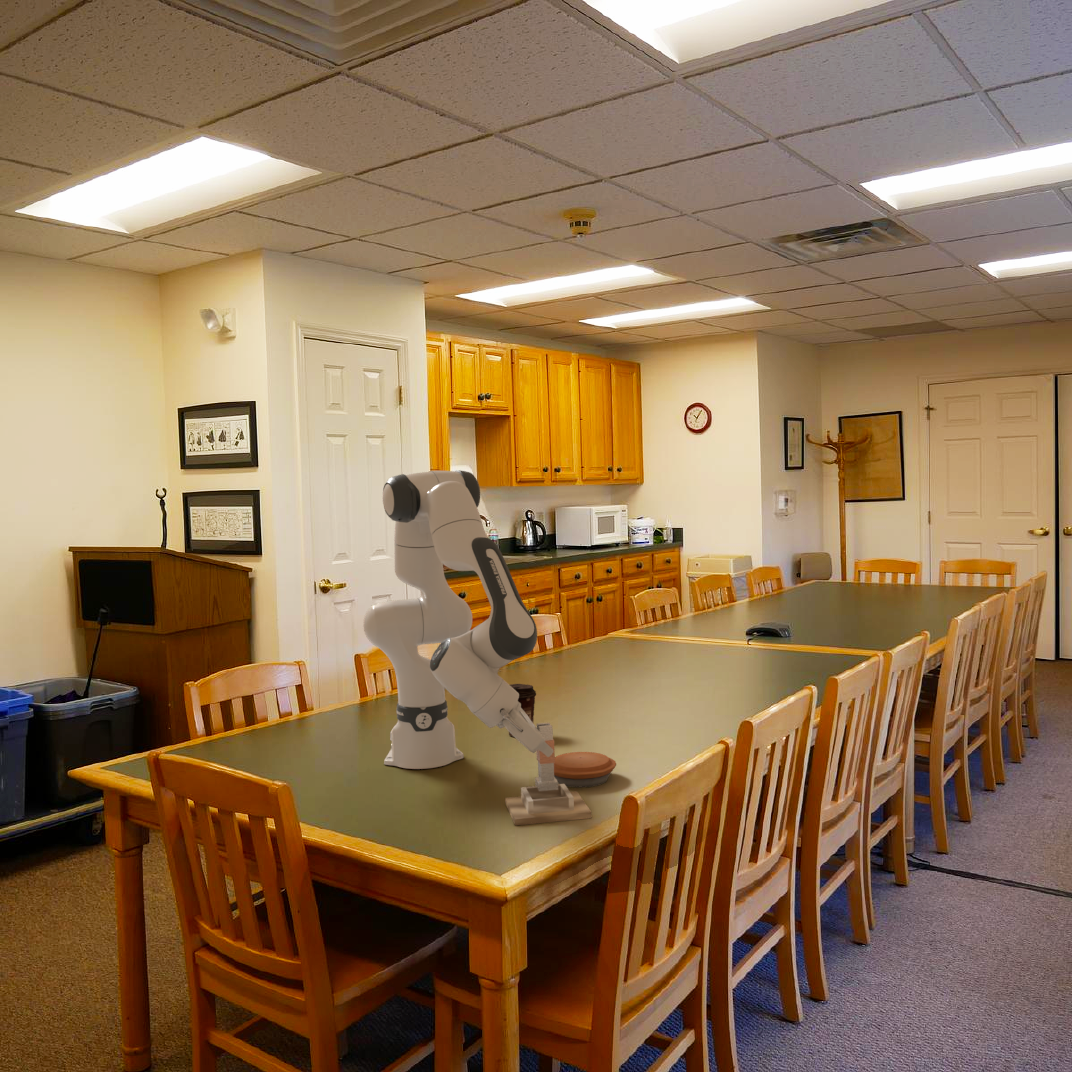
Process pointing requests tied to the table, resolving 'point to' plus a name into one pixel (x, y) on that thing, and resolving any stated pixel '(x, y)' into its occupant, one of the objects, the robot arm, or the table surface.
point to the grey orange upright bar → (546, 761)
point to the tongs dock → (546, 806)
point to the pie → (582, 769)
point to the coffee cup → (526, 699)
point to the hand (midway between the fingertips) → (548, 750)
